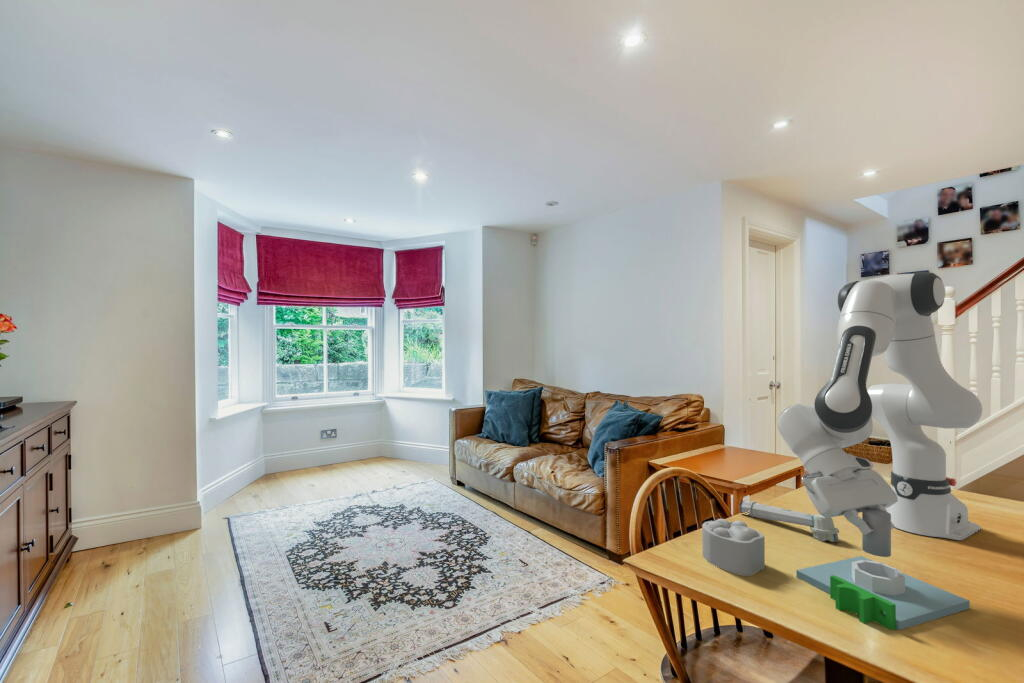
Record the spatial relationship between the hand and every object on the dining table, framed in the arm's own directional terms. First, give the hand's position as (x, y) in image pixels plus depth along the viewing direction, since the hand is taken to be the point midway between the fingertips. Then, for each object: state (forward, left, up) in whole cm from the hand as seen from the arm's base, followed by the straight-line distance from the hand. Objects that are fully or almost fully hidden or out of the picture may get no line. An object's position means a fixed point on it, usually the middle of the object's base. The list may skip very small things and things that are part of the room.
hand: (879, 531), depth 95 cm
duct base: (0, -1, -12) cm, 13 cm away
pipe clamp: (+12, +3, -13) cm, 18 cm away
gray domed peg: (0, -1, -4) cm, 4 cm away
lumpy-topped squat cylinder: (+17, -21, -13) cm, 30 cm away
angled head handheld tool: (-13, -32, -13) cm, 37 cm away
